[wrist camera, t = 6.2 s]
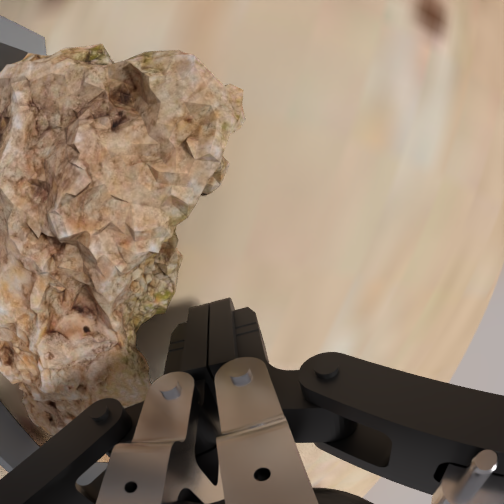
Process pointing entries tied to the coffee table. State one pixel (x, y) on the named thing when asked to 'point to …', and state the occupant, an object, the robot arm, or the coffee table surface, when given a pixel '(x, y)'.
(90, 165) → the rock
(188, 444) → the robot arm
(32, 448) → the bracket
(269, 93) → the coffee table surface
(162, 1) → the coffee table surface
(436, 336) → the coffee table surface
